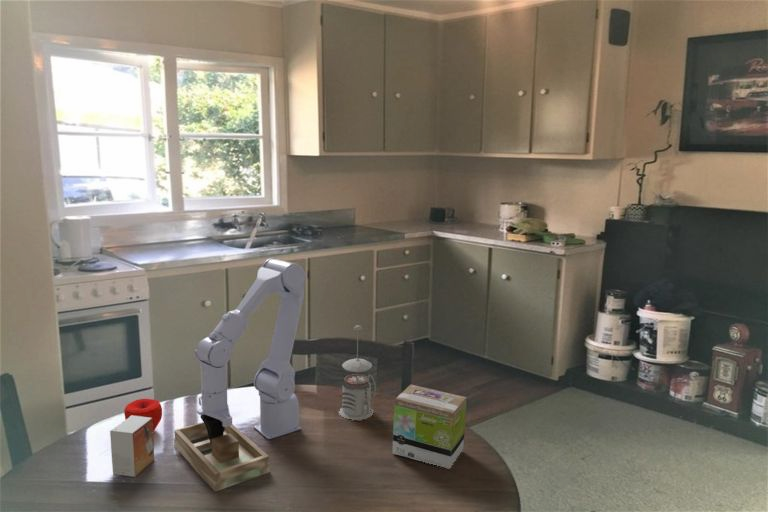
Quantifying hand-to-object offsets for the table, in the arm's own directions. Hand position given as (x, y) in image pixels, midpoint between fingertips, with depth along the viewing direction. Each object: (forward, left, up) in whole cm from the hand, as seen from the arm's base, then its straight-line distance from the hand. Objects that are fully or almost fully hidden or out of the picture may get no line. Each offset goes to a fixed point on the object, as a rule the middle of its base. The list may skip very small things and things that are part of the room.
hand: (215, 443), depth 143 cm
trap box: (0, +2, -3) cm, 4 cm away
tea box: (-41, +29, -3) cm, 50 cm away
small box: (+17, -6, -3) cm, 18 cm away
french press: (-40, +2, -3) cm, 40 cm away
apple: (+10, -21, -3) cm, 23 cm away
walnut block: (0, +5, -1) cm, 5 cm away
